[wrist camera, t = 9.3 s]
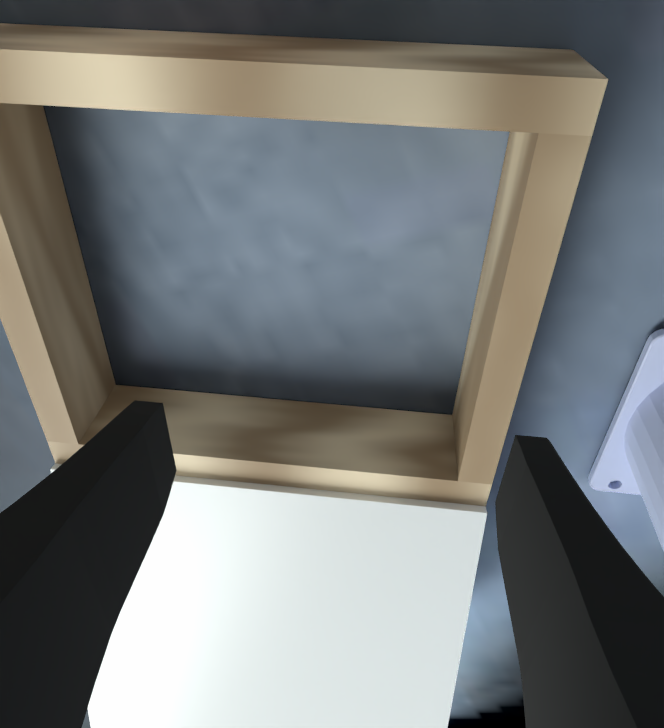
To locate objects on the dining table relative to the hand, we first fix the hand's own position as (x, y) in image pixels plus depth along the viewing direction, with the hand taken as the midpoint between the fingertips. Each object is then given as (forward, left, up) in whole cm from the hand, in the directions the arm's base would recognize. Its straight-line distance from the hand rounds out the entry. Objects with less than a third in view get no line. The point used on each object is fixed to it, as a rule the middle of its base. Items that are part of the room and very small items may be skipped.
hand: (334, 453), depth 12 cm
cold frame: (+3, +8, -9) cm, 13 cm away
